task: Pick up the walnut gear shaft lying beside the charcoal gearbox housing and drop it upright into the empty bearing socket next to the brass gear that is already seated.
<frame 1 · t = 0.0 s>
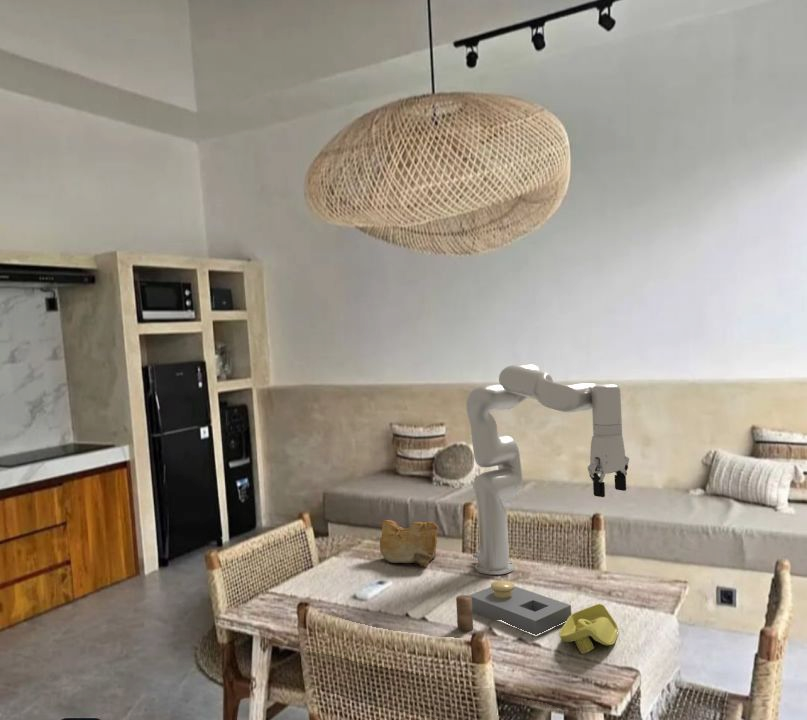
hand: (610, 493, 181), 31 cm above the table, tool pointing down, fingers open, 9 cm apart
gear shaft: (465, 628, 173), on the table
plastic component: (587, 642, 163), on the table
gearbox housing: (518, 614, 180), on the table
rough brown rock: (417, 561, 229), on the table
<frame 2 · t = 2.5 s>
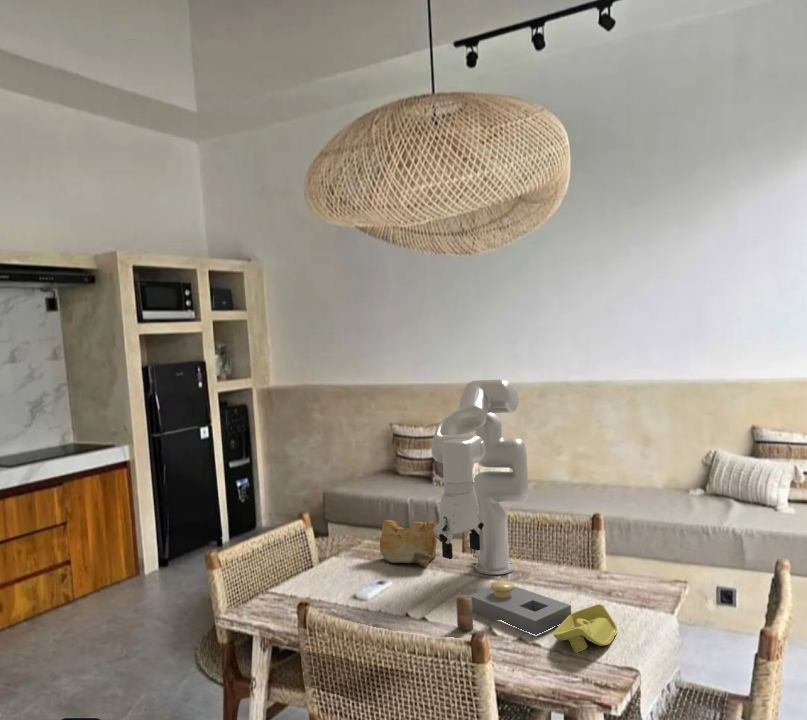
hand: (461, 553, 172), 20 cm above the table, tool pointing down, fingers open, 9 cm apart
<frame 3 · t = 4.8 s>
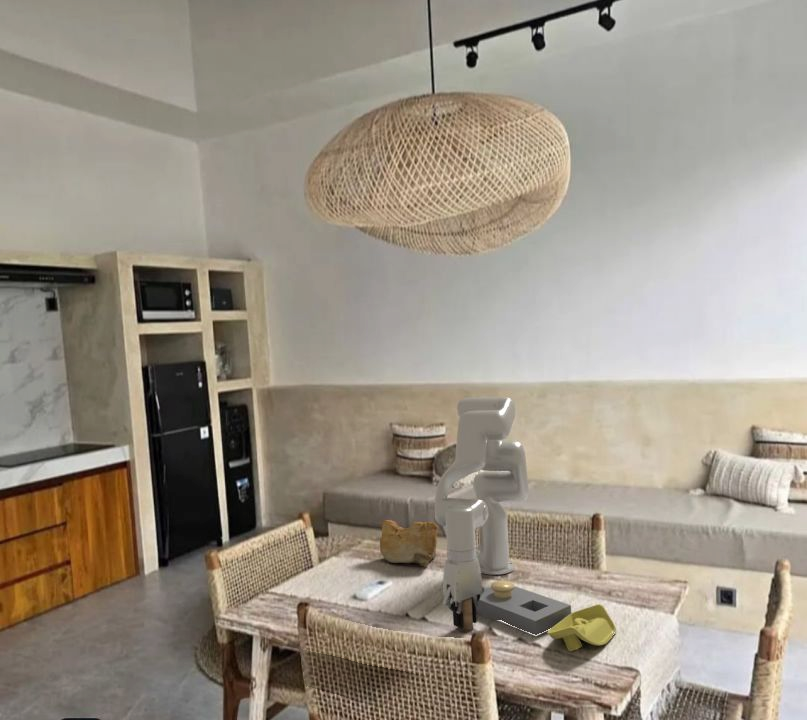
hand: (465, 623, 173), 1 cm above the table, tool pointing down, fingers closed on gear shaft, 4 cm apart
gear shaft: (465, 628, 173), on the table, touching gripper
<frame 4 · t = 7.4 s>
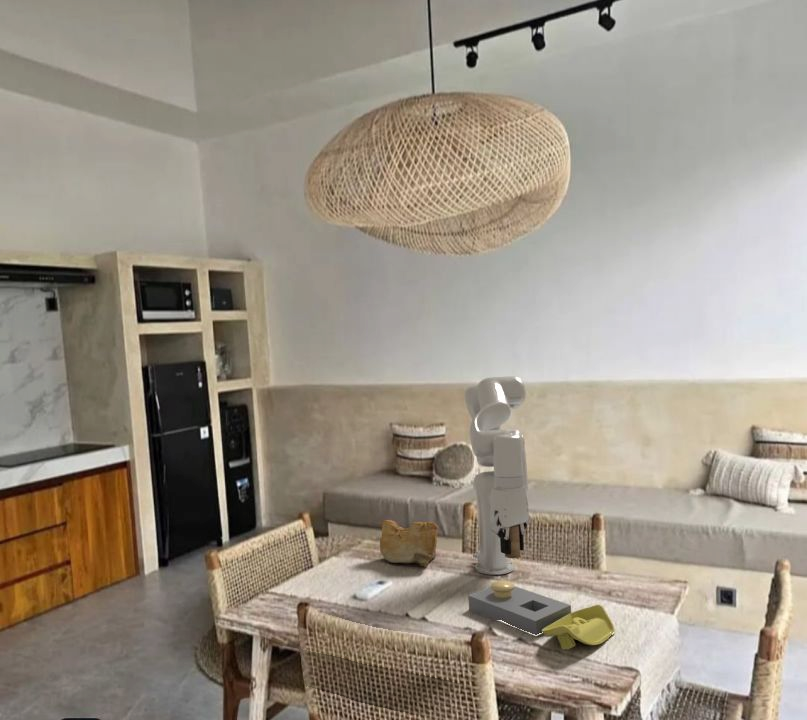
hand: (512, 550, 175), 19 cm above the table, tool pointing down, fingers closed on gear shaft, 4 cm apart
gear shaft: (512, 555, 175), point 18 cm above the table, touching gripper
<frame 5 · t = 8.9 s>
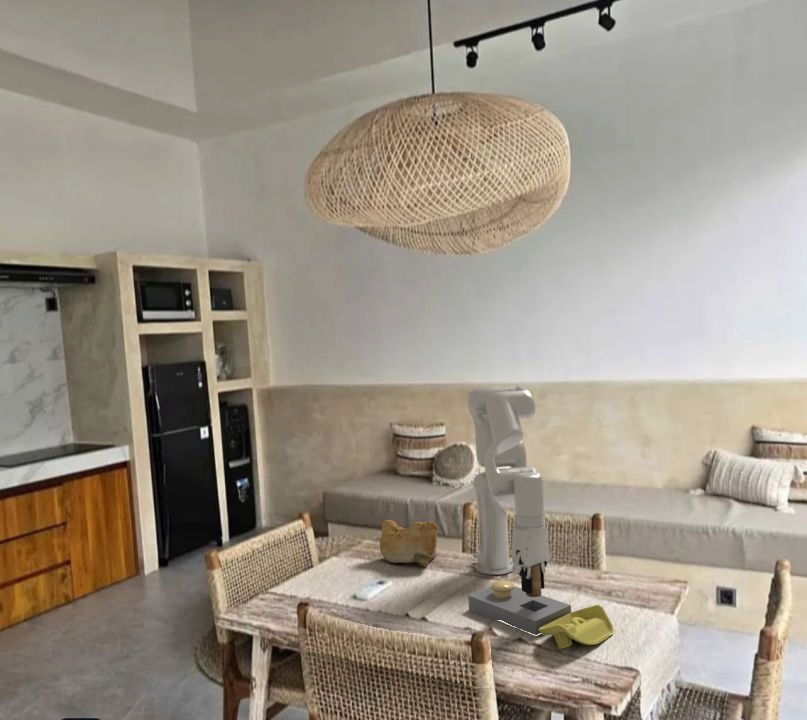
hand: (533, 589, 175), 8 cm above the table, tool pointing down, fingers closed on gear shaft, 4 cm apart
gear shaft: (533, 594, 175), point 7 cm above the table, touching gripper
when the fingers open (5 cm above the table, at t = 10.0 s): gear shaft drops 3 cm, resting in gearbox housing.
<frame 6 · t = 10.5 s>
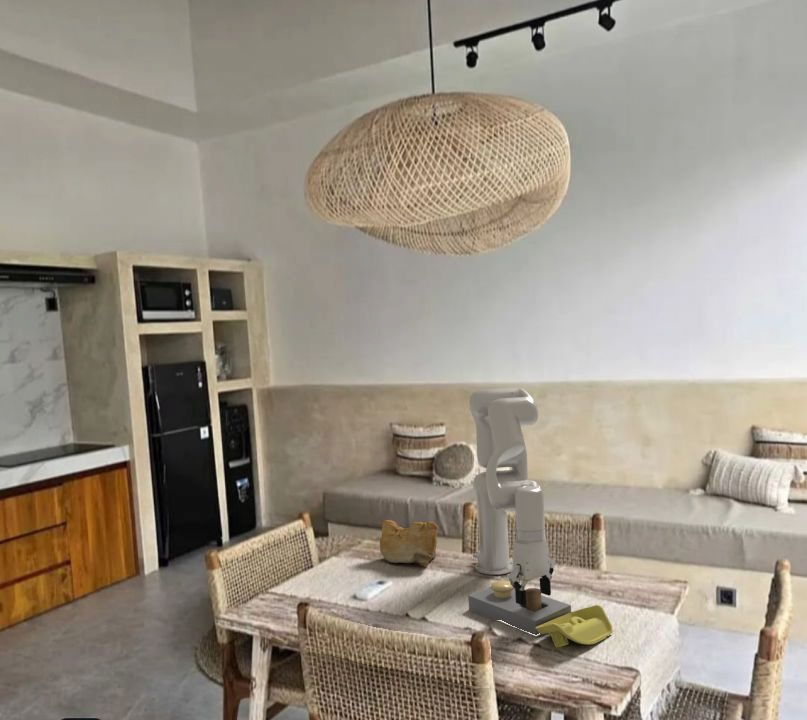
hand: (533, 599, 175), 6 cm above the table, tool pointing down, fingers open, 9 cm apart
gear shaft: (534, 620, 176), resting in gearbox housing
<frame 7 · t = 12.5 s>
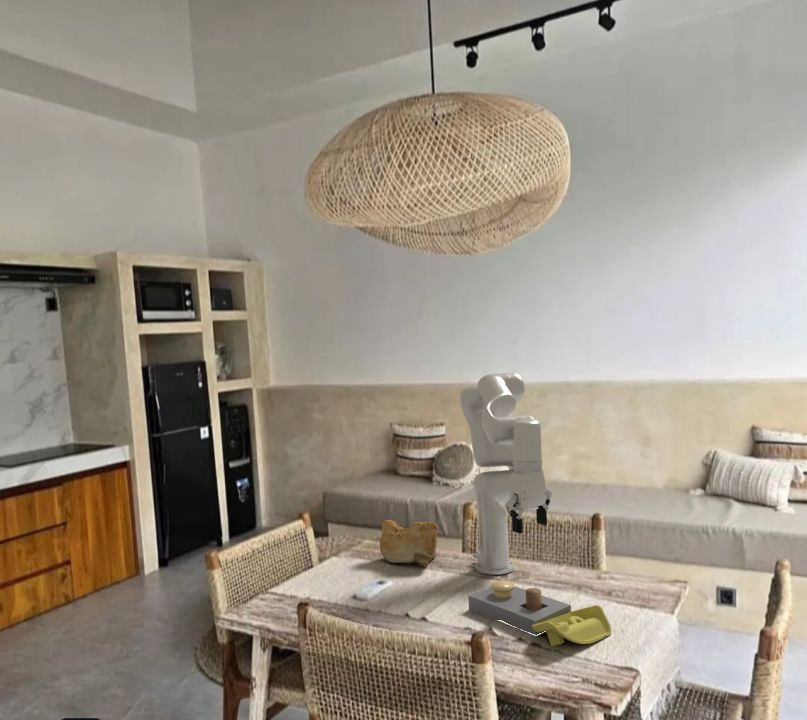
hand: (529, 528, 181), 23 cm above the table, tool pointing down, fingers open, 9 cm apart
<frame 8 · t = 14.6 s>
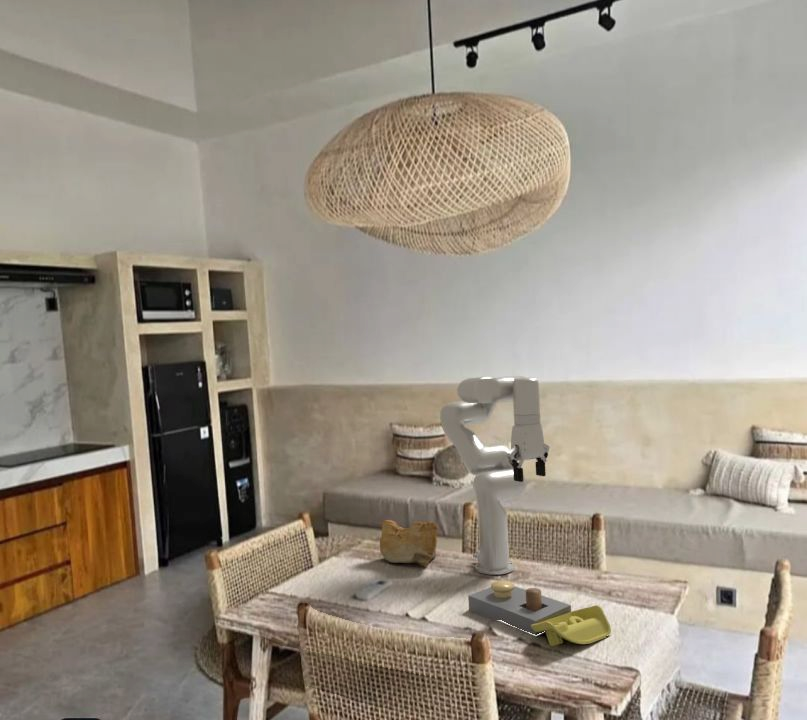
hand: (529, 478, 195), 33 cm above the table, tool pointing down, fingers open, 9 cm apart
at the end: gear shaft 0.0 cm from the target spot on the gearbox housing, point 0.0 cm above the gearbox housing's base; gear shaft tilted 0°; the gripper is holding nothing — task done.
